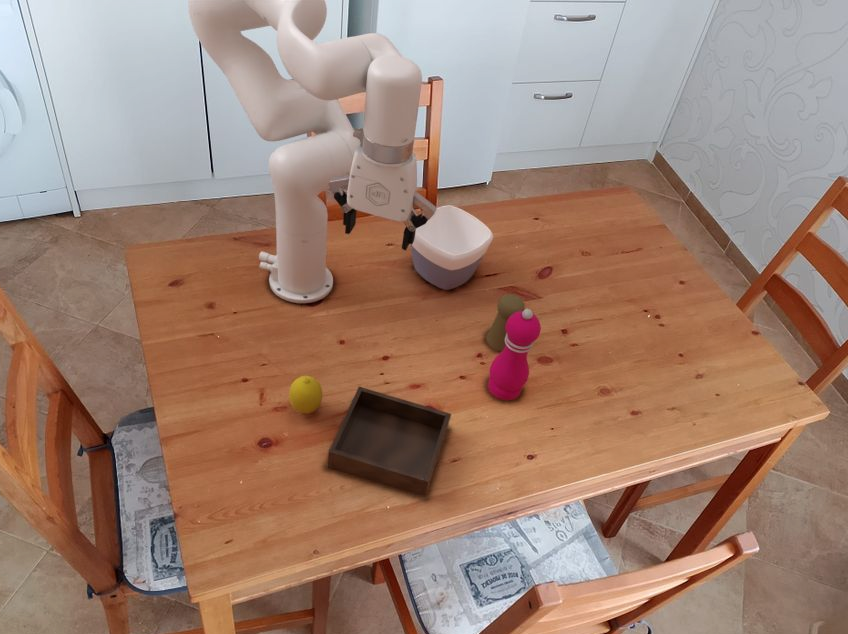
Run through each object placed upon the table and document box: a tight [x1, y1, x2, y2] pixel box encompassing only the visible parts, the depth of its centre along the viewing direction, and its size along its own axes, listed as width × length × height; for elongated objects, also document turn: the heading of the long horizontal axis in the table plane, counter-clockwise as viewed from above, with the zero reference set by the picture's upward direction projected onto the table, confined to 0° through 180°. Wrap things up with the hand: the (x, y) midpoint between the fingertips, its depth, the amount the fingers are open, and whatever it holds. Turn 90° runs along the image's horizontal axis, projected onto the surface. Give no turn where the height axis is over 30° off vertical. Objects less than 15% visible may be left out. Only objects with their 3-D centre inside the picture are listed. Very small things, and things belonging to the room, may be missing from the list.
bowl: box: [410, 204, 494, 291], centre depth 153 cm, size 15×15×11 cm
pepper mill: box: [487, 308, 542, 401], centre depth 129 cm, size 7×7×20 cm
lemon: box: [288, 375, 323, 414], centre depth 123 cm, size 6×6×8 cm
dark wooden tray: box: [327, 386, 452, 497], centre depth 121 cm, size 17×15×4 cm
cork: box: [485, 293, 526, 353], centre depth 141 cm, size 6×6×11 cm
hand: (378, 237), depth 119 cm, fingers open, 9 cm apart
